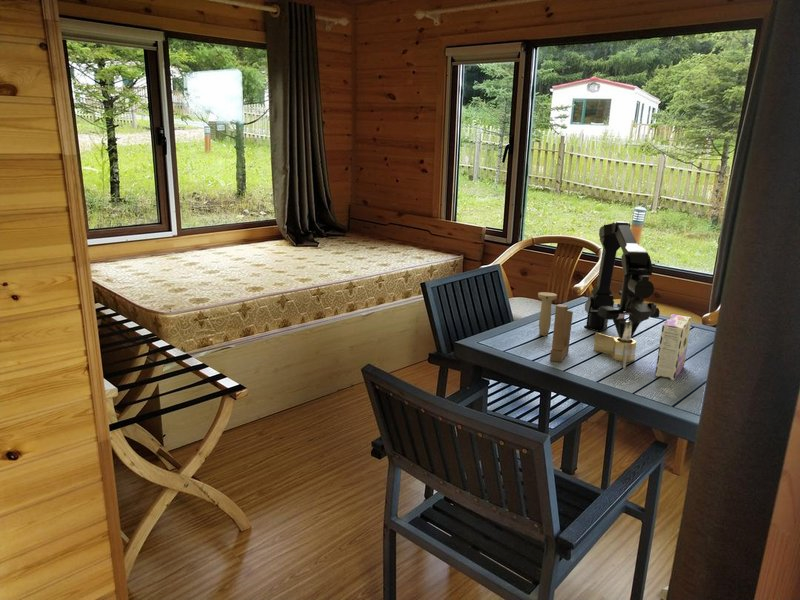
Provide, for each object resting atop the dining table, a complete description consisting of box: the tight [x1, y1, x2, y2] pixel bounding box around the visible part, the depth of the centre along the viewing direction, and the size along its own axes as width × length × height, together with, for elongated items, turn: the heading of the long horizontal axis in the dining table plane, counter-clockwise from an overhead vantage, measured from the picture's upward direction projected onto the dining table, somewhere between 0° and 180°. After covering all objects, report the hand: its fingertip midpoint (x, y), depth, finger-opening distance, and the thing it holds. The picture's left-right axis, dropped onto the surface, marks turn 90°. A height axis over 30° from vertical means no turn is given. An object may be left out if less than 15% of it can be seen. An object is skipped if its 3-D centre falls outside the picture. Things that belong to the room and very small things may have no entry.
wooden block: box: [549, 303, 574, 363], centre depth 192 cm, size 4×11×18 cm, turn 153°
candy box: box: [654, 313, 692, 381], centre depth 182 cm, size 14×6×16 cm, turn 145°
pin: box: [619, 319, 633, 343], centre depth 192 cm, size 3×3×10 cm
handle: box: [537, 291, 558, 337], centre depth 213 cm, size 5×6×15 cm
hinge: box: [593, 331, 637, 370], centre depth 193 cm, size 16×12×6 cm
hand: (625, 337), depth 192 cm, fingers closed on pin, 3 cm apart
